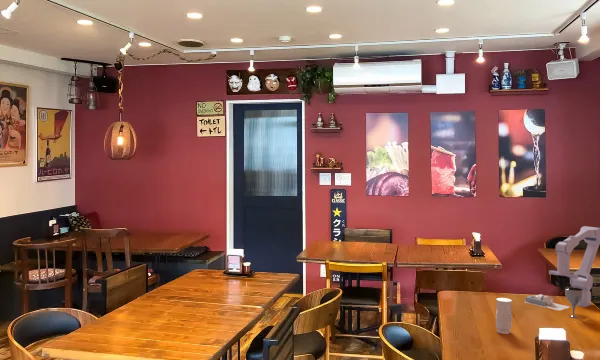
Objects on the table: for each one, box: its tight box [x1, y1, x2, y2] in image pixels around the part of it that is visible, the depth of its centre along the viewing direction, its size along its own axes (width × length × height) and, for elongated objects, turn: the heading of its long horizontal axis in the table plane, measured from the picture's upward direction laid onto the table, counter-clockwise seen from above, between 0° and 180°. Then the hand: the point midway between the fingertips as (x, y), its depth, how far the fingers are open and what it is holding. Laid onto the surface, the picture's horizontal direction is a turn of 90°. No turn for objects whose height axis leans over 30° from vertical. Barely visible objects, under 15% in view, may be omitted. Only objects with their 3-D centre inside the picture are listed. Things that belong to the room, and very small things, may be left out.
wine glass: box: [564, 286, 583, 319], centre depth 261 cm, size 8×8×15 cm
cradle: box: [524, 294, 570, 312], centre depth 284 cm, size 12×20×3 cm, turn 37°
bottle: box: [533, 293, 554, 305], centre depth 286 cm, size 5×5×10 cm
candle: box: [495, 297, 513, 335], centre depth 240 cm, size 7×7×15 cm
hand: (562, 289), depth 277 cm, fingers closed
